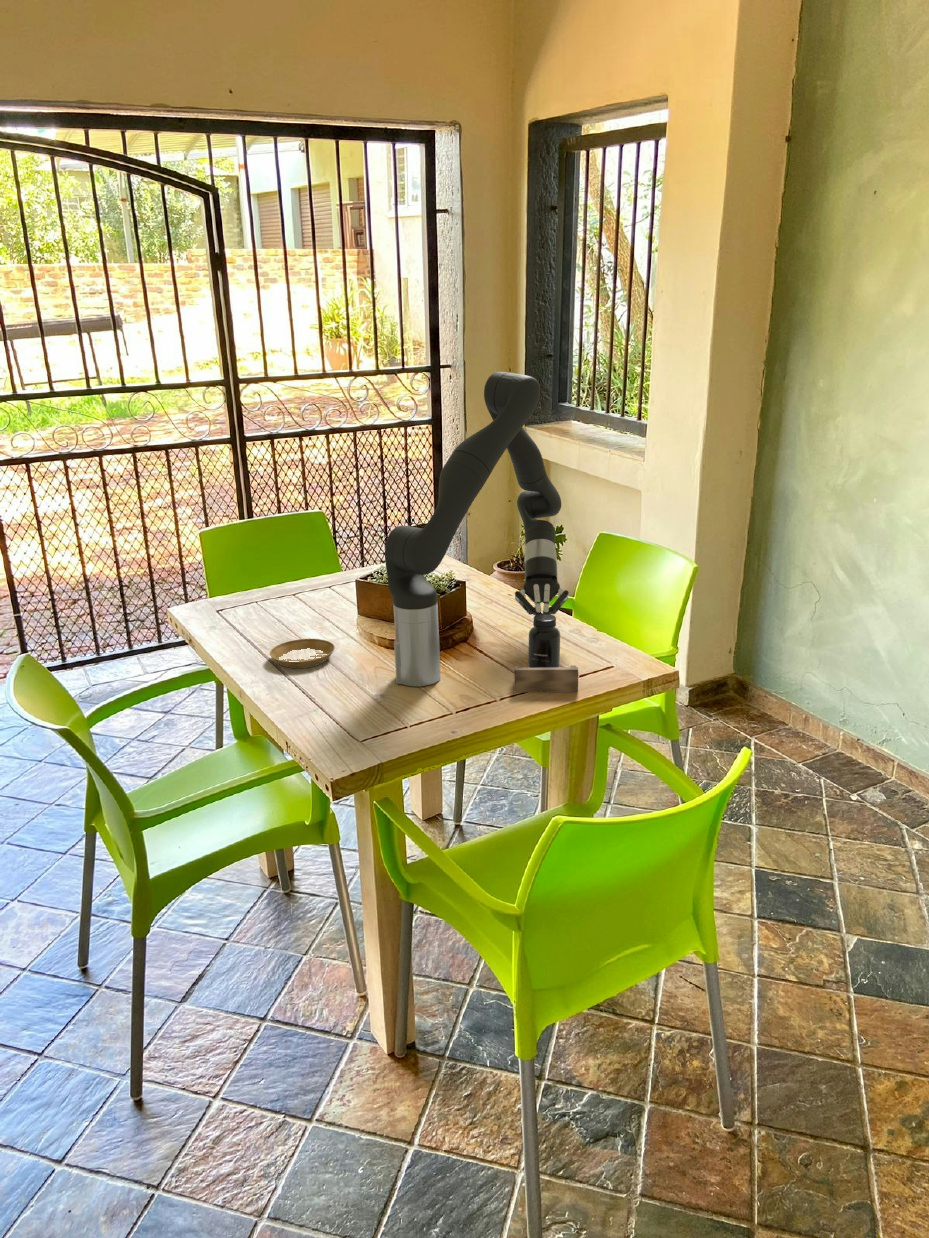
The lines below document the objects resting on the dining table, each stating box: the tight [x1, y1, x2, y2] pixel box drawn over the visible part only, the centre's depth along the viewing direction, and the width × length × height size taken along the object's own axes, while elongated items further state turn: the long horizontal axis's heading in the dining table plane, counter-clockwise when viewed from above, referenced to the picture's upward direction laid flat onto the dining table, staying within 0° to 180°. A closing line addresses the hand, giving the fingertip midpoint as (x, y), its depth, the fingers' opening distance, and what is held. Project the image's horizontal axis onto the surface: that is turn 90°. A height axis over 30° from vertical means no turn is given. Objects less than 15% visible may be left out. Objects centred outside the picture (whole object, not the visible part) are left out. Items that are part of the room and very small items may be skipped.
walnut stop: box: [513, 665, 579, 693], centre depth 186 cm, size 13×6×5 cm, turn 87°
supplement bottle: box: [527, 614, 561, 668], centre depth 194 cm, size 7×7×12 cm
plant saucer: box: [269, 638, 336, 669], centre depth 205 cm, size 15×15×3 cm
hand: (542, 629), depth 203 cm, fingers closed
